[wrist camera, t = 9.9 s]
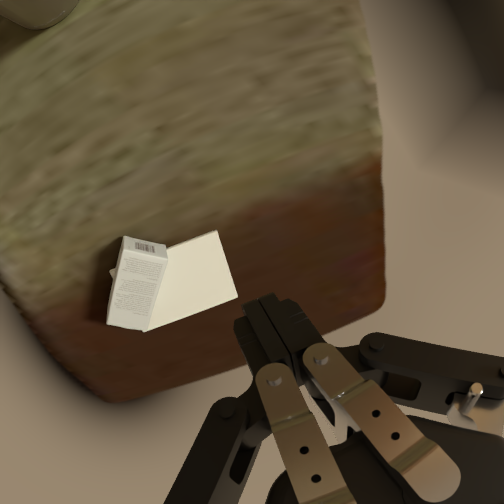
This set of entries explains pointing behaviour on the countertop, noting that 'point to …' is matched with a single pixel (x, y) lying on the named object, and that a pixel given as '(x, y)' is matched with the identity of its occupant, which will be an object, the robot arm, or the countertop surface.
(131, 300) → the skincare box
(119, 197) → the countertop surface
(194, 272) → the mat
